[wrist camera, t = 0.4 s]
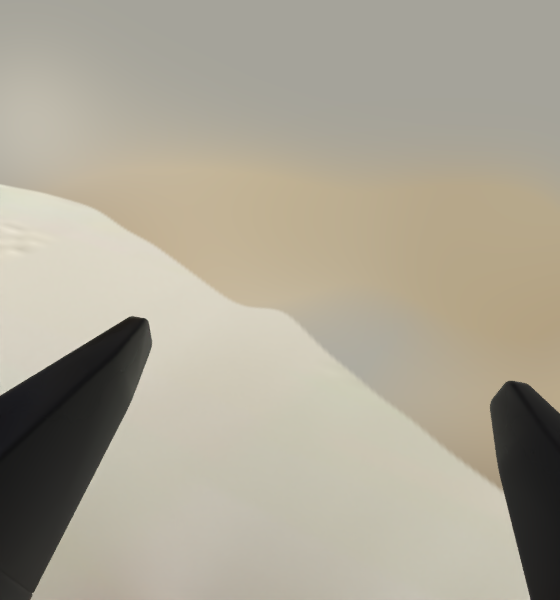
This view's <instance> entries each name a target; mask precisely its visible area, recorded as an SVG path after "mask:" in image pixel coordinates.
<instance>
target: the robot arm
mask: <svg viewBox="0 0 560 600" xmlns="http://www.w3.org/2000/svg"><path fill="white" fill-rule="evenodd" d="M151 347H152V339H151V333H150V327H149V323H148V320H147V319H145V318H140V317H134V316H132V317H129V318H127V319H125V320H123V321H122V322H120V323H119V324H117V325H115V326H114V327H112V328H110V329H109V330H107V331H105V332H104V333H102V334H101V335H99V336H97V337H96V338H94V339H92V340H91V341H89V342H87V343H86V344H84V345H83V346H81V347H79V348H78V349H76V350H74V351H73V352H71V353H69V354H68V355H66V356H64V357H63V358H61V359H60V360H58V361H56V362H55V363H53V364H51V365H50V366H48V367H46V368H45V369H43V370H42V371H40V372H38V373H37V374H35V375H33V376H32V377H30V378H28V379H27V380H25V381H24V382H22V383H20V384H19V385H17V386H15V387H14V388H12V389H10V390H9V391H7V392H6V393H4V394H2V395H1V396H0V600H30V599H31V597H32V593H33V592H34V591H35V589H36V587H37V585H38V583H39V581H40V579H41V577H42V575H43V573H44V571H45V569H46V567H47V565H48V563H49V562H50V560H51V558H52V556H53V554H54V552H55V550H56V548H57V546H58V544H59V542H60V540H61V538H62V536H63V534H64V532H65V530H66V528H67V526H68V524H69V522H70V521H71V519H72V517H73V515H74V513H75V511H76V509H77V507H78V505H79V503H80V501H81V499H82V497H83V495H84V493H85V491H86V489H87V487H88V485H89V483H90V481H91V480H92V478H93V476H94V474H95V472H96V470H97V468H98V466H99V464H100V462H101V460H102V458H103V456H104V454H105V452H106V450H107V448H108V446H109V444H110V442H111V441H112V439H113V437H114V435H115V433H116V431H117V429H118V427H119V425H120V423H121V421H122V419H123V417H124V415H125V413H126V411H127V409H128V407H129V405H130V403H131V401H132V398H133V396H134V393H135V390H136V388H137V385H138V382H139V380H140V377H141V374H142V372H143V369H144V366H145V364H146V361H147V358H148V356H149V353H150V350H151ZM490 412H491V420H492V427H493V434H494V442H495V450H496V457H497V463H498V469H499V474H500V478H501V482H502V486H503V490H504V494H505V498H506V502H507V506H508V510H509V514H510V518H511V522H512V526H513V530H514V535H515V539H516V543H517V547H518V551H519V555H520V559H521V563H522V567H523V571H524V575H525V579H526V583H527V587H528V591H529V595H530V599H531V600H560V413H559V412H557V411H556V410H555V409H554V408H553V407H552V406H551V405H550V404H549V403H548V402H547V401H546V400H545V399H543V398H542V397H541V396H540V395H539V394H538V393H537V392H536V391H535V390H534V389H533V388H532V387H531V386H529V385H528V384H526V383H522V382H515V381H508V382H506V383H505V384H504V385H503V386H502V388H501V389H500V390H499V391H498V393H497V394H496V395H495V396H494V398H493V399H492V401H491V404H490Z"/></svg>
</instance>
